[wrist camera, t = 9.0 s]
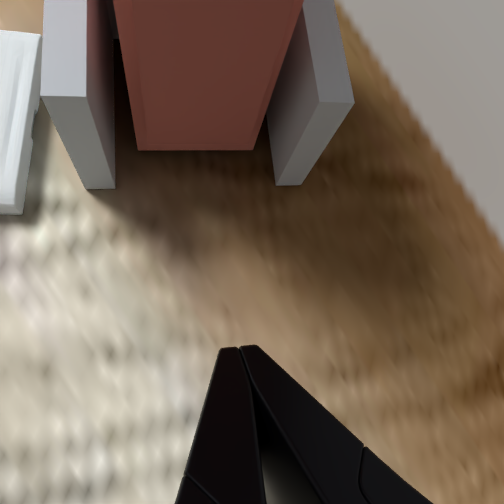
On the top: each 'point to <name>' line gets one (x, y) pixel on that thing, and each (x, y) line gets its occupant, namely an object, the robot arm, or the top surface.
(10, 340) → the top surface
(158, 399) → the top surface
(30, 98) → the external hard drive
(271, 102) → the socket block
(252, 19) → the pink rectangular block
